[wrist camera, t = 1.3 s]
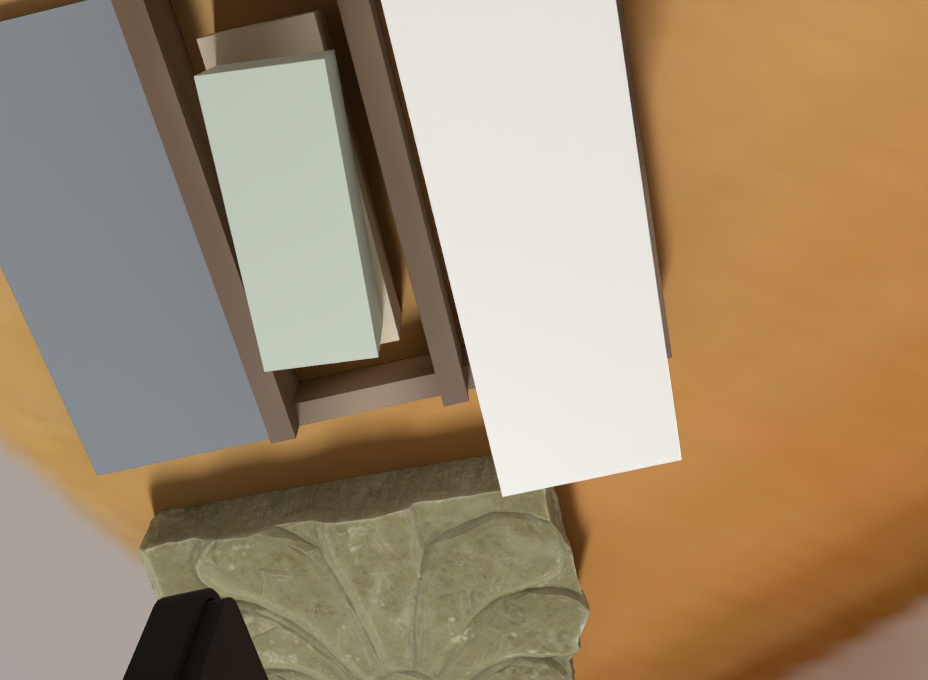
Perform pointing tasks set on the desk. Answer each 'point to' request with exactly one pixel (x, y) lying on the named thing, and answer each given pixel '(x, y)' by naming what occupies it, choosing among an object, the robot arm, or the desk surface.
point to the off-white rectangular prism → (541, 230)
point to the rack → (447, 365)
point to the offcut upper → (293, 207)
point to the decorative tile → (386, 575)
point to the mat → (110, 250)
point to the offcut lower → (314, 36)
